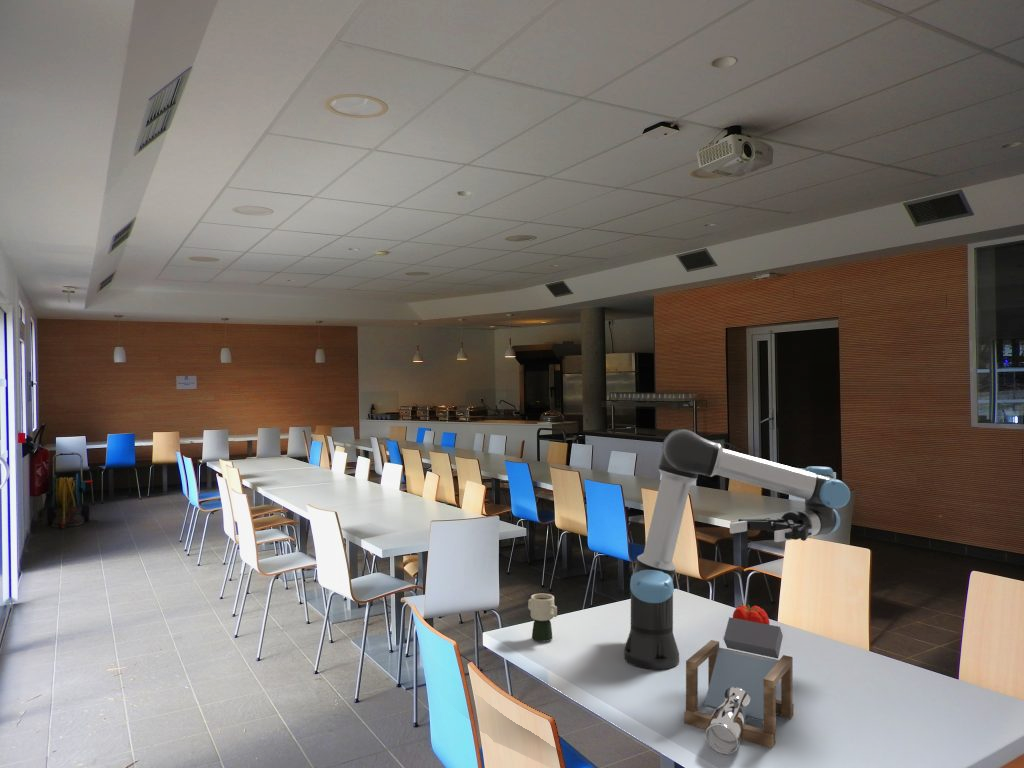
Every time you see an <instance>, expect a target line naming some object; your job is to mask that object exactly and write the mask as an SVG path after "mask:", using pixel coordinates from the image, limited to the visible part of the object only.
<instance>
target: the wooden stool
mask: <svg viewBox="0 0 1024 768" xmlns="http://www.w3.org/2000/svg"><path fill="white" fill-rule="evenodd" d="M719 647H720V641H718V640H715V639H714V640H713V639H711V640H710V641H708V642H707V643H706V644H704V645H703V646H702V647H701V648H700V649H699V650H697V651H696V652H695V653H694V654H693V655H691V656H690V657H689V658H687V660H685V711H684V712H683V713H684V715H683V717H684V719H683V720H684V721H683V723H684V724H685V725H689V726H692V727H697V728H701V729H704V730H707V727H708V724H709V721H710V718H711V716H712V714H709V713H705V712H702V711H698V710H699V707H698V702H699V701H698V700H699V699H698V698H699V695H698V693H699V690H698V689H699V688H698V687H699V685H698V683H699V681H698V680H699V679H698V678H699V677H698V675H699V673H698V672H699V666H701V665H702V664H703V663H704V662H705V661H706V660H707V659H708V660H707V662H708V668H707V669H708V672H707V673H708V679H707V680H708V682H707V683H708V684H707V685H708V688H709V684H710V681H711V677H712V673H713V669H714V665H715V662H716V658H717V654H718V650H719ZM778 660H779V661H778V662H777V663H776V665H775V666H774V667H773V668H772V669H771V671H770V672H769V673H768V674H767V675H766V677H765V678H764V722H763V728H760V727H756V726H753V725H749V724H746V723H745V731H744V734H743V737H742V740H743V741H745V742H749V743H751V744H757V745H760V746H762V747H766V748H771V749H772V748H774V746H775V744H776V743H777V719H776V718H777V716H776V715H778V716H779V715H780V717H781V718H783V719H787V720H792V718H793V716H794V713H795V711H794V710H795V709H794V708H795V707H794V703H793V699H794V698H793V693H794V692H793V690H794V689H793V687H794V686H793V684H794V683H793V681H794V680H793V667H794V666H793V663H794V662H793V661H794V660H793V656H789V655H785V654H783V655H782V656H781V657H780V659H778ZM780 681H781V682H780ZM779 682H780V683H781V687H780V689H781V691H780V692H781V695H780V697H781V700H780V699H776V698H777V695H776V693H777V690H776V689H777V686H776V685H777V684H779ZM742 740H741V741H742Z"/></svg>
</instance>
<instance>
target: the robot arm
mask: <svg viewBox="0 0 1024 768" xmlns="http://www.w3.org/2000/svg"><path fill="white" fill-rule="evenodd" d="M657 470H658V472H659V474H660V475H661V478H660V482H659V487H658V491H657V496H656V500H655V504H654V508H653V512H652V517H651V522H650V524H649V527H648V528H649V529H648V533H647V537H646V542H645V546H644V550H643V552H642V553H641V554H639V555H637V557H636V561H635V565H634V569H633V572H632V574H631V577H630V583H629V590H630V628H629V629H630V631H629V633H628V637H627V639H626V642H625V644H624V645H625V646H624V650H623V653H624V654H623V659H624V660H625V661H626V662H627V663H629V664H631V665H633V666H635V667H639V668H643V669H651V670H665V669H671V668H674V667H676V666H678V664H680V652H679V648H678V645H677V642H676V639H675V635H674V590H675V588H674V587H675V586H674V582H673V581H674V577H675V573H676V569H677V567H676V566H675V564H674V562H673V558H674V555H675V550H676V545H677V543H678V542H677V541H678V537H679V533H680V530H681V526H682V521H683V516H684V512H685V509H686V504H687V499H688V496H689V491H690V488H691V484H692V483H694V482H696V481H697V480H698V477H699V475H703V476H706V477H709V478H711V477H714V476H719V477H720V476H721V477H723V478H726V479H727V478H728V479H731V480H734V481H738V482H742V483H745V484H749V485H753V486H756V487H760V488H762V489H767V490H769V491H770V490H771V491H774V492H777V493H782V494H786V495H789V496H792V497H796V498H800V499H803V500H804V509H801V510H794V511H789V512H786V513H784V514H783V515H782V516H781V517H780V518H774V519H771V518H770V517H766V518H739V519H738V521H735V522H730V523H729V534H737V533H739V534H740V533H746V532H747V531H767V532H768V533H774V534H773V535H774V540H773V541H774V543H780V542H786V541H791V540H792V541H793V540H794V541H796V540H800V541H807V539H808V538H809V537H815V536H821V535H823V536H824V535H828V534H831V533H833V532H835V531H837V530H838V528H839V527H840V525H841V517H840V514H839V513H838V511H836V509H841V508H843V507H845V506H846V505H847V504H848V503H849V502H850V499H851V490H850V488H849V487H848V486H847V484H846V483H845V482H843V481H842V480H840V479H836V478H835V476H834V470H833V469H832V467H829V466H817V465H816V466H813V465H812V466H807V467H805V469H800V468H796V467H792V466H789V465H785V464H781V463H778V462H774V461H771V460H767V459H764V458H760V457H757V456H752V455H749V454H745V453H741V452H738V451H734V450H731V449H726V448H723V446H722V445H721V443H719V442H714V441H712V440H709V439H707V438H704V437H702V436H700V435H698V434H697V433H696V432H694V431H692V430H689V429H684V428H682V429H680V428H679V429H676V430H673V431H671V432H670V433H669V434H668V435H667V436H666V437H665V439H664V440H663V442H662V451H661V456H660V460H659V465H658V469H657Z"/></svg>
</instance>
